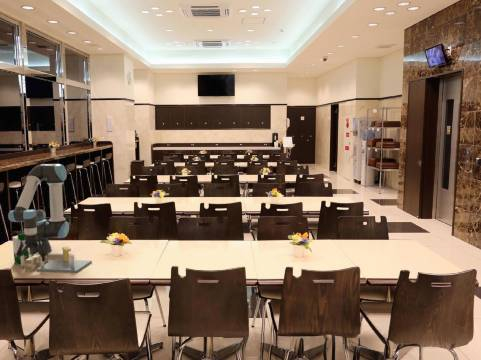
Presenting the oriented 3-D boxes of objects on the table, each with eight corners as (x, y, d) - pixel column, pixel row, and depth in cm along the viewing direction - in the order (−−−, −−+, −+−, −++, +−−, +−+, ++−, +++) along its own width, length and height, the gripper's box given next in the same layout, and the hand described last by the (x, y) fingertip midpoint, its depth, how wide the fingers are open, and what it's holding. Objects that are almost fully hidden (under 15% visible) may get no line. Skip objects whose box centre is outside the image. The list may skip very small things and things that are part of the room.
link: (39, 262, 310) (38, 252, 309) (47, 262, 309) (47, 252, 308) (23, 270, 291) (22, 260, 291) (32, 271, 291) (31, 260, 290)
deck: (54, 261, 312) (53, 245, 310) (91, 262, 308) (91, 247, 307) (36, 271, 291) (35, 254, 289) (76, 272, 287) (75, 256, 286)
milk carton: (17, 265, 303) (15, 235, 301) (12, 262, 310) (10, 233, 307) (30, 262, 310) (29, 233, 307) (26, 259, 316) (24, 231, 313)
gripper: (9, 234, 292) (11, 266, 294) (45, 235, 289) (47, 268, 291) (16, 232, 299) (18, 263, 302) (52, 233, 296) (53, 264, 299)
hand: (32, 265), depth 297 cm, fingers open, 13 cm apart
